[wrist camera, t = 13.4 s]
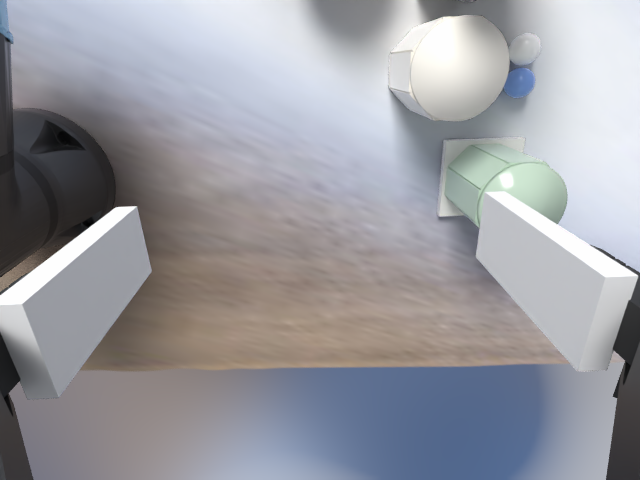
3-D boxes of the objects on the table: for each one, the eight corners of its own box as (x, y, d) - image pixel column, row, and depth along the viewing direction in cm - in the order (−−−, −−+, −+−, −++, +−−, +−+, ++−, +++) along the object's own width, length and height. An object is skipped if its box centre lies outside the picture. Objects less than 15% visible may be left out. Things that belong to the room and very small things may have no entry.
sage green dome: (449, 145, 45) (486, 165, 36) (521, 142, 45) (576, 162, 36) (442, 213, 48) (474, 248, 39) (509, 210, 48) (557, 245, 39)
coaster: (436, 213, 49) (439, 216, 48) (443, 139, 46) (446, 141, 45) (508, 210, 49) (512, 213, 49) (521, 136, 46) (525, 138, 45)
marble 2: (496, 97, 44) (509, 99, 41) (500, 67, 43) (514, 68, 40) (523, 96, 44) (538, 98, 41) (528, 66, 43) (543, 67, 40)
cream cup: (387, 110, 44) (409, 123, 35) (390, 27, 41) (415, 16, 32) (460, 108, 44) (501, 119, 35) (469, 24, 41) (517, 13, 32)
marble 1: (501, 65, 43) (514, 66, 40) (505, 34, 41) (519, 32, 39) (528, 64, 43) (544, 65, 40) (534, 33, 42) (550, 31, 39)
